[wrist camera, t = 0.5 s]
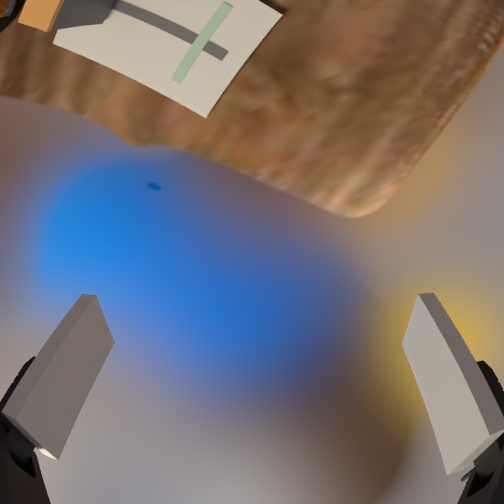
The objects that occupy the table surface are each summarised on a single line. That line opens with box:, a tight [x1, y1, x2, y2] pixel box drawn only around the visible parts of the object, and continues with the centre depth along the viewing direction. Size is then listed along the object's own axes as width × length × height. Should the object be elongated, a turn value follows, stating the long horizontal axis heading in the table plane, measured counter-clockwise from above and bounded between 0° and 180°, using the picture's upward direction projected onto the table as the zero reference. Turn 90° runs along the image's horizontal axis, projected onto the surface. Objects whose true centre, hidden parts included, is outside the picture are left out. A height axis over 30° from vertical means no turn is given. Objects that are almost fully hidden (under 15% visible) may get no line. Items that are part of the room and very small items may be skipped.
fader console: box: [53, 0, 282, 118], centre depth 23 cm, size 14×22×1 cm, turn 56°
